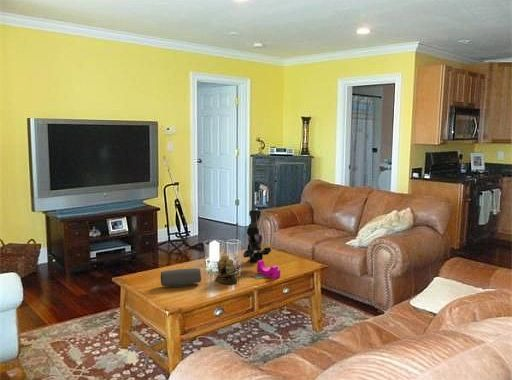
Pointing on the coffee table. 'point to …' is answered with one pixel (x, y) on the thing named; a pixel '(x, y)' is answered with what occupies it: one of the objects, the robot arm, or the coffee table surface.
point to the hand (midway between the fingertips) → (261, 263)
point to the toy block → (268, 270)
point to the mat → (259, 276)
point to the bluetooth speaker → (180, 277)
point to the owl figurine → (226, 271)
